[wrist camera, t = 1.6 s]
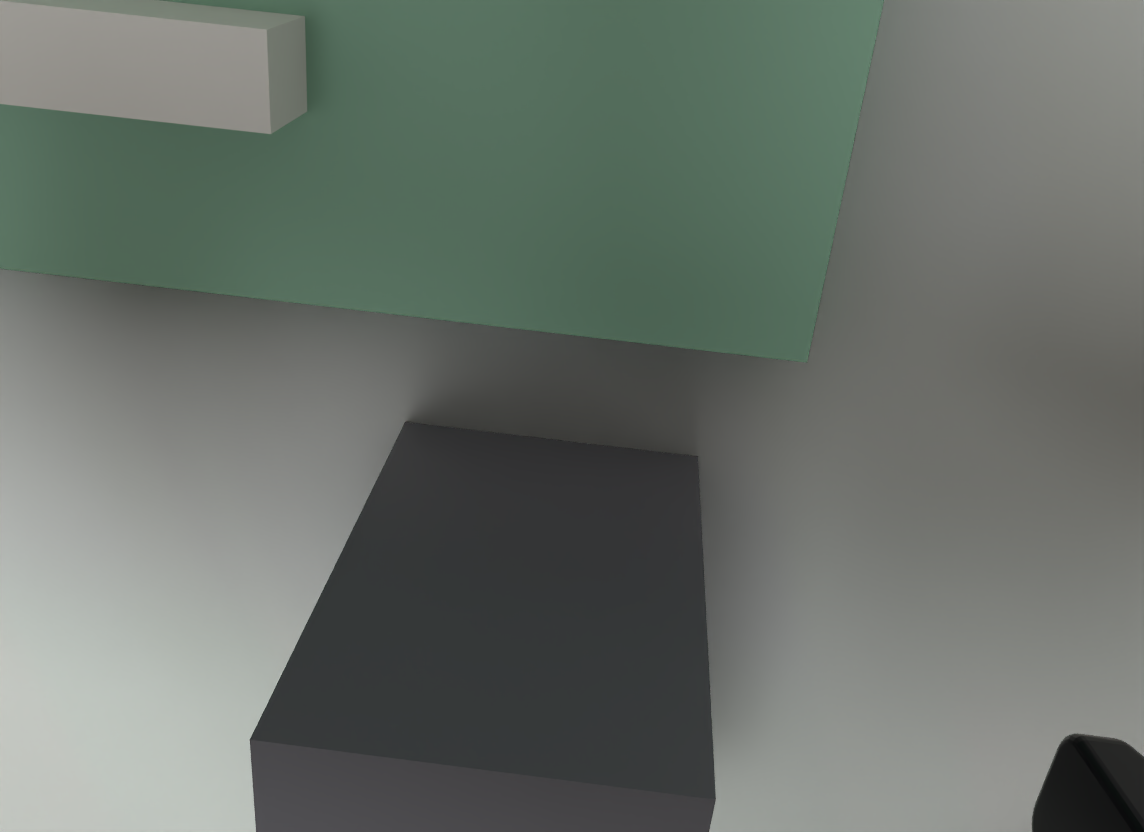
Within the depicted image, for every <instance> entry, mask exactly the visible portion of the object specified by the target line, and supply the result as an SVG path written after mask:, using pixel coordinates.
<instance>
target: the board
mask: <svg viewBox="0 0 1144 832" xmlns="http://www.w3.org/2000/svg"><path fill="white" fill-rule="evenodd" d="M883 3H884V0H0V269H7V270H16V271H25V272H33V273H42V274H50V275H59V276H67V277H76V278H85V279H93V280H102V281H110V282H119V283H128V284H136V285H145V286H153V287H162V288H170V289H179V290H188V291H196V292H205V293H213V294H222V295H231V296H239V297H248V298H256V299H265V300H273V301H282V302H291V303H299V304H308V305H316V306H325V307H334V308H342V309H351V310H359V311H368V312H376V313H385V314H394V315H402V316H411V317H419V318H428V319H437V320H445V321H454V322H462V323H471V324H479V325H488V326H497V327H505V328H514V329H522V330H531V331H540V332H548V333H557V334H565V335H574V336H582V337H591V338H600V339H608V340H617V341H625V342H634V343H643V344H651V345H660V346H668V347H677V348H685V349H694V350H703V351H711V352H720V353H728V354H737V355H746V356H754V357H763V358H771V359H780V360H788V361H797V362H806V363H807V360H808V356H809V351H810V346H811V342H812V337H813V332H814V328H815V323H816V318H817V313H818V309H819V304H820V299H821V295H822V290H823V285H824V281H825V276H826V271H827V266H828V262H829V257H830V252H831V248H832V243H833V238H834V234H835V229H836V224H837V219H838V215H839V210H840V205H841V201H842V196H843V191H844V186H845V182H846V177H847V172H848V168H849V163H850V158H851V154H852V149H853V144H854V139H855V135H856V130H857V125H858V121H859V116H860V111H861V107H862V102H863V97H864V92H865V88H866V83H867V78H868V74H869V69H870V64H871V60H872V55H873V50H874V45H875V41H876V36H877V31H878V27H879V22H880V17H881V13H882V8H883Z"/></svg>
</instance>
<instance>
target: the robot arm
mask: <svg viewBox="0 0 1144 832" xmlns="http://www.w3.org/2000/svg"><path fill="white" fill-rule="evenodd" d="M1032 832H1144V757H1143V756H1142V755H1141V754H1140V753H1139V752H1137V751H1136V750H1135V749H1134V748H1133V747H1131V746H1130V745H1129V744H1127V743H1126V742H1124V741H1122V740H1119V739H1115V738H1108V737H1101V736H1093V735H1085V734H1072V735H1069V736H1067V737H1065V738H1064V739H1063V741H1062V742H1061V743H1060V745H1059V747H1058V749H1057V751H1056V754H1055V756H1054V759H1053V761H1052V764H1051V766H1050V769H1049V771H1048V774H1047V776H1046V779H1045V781H1044V783H1043V786H1042V788H1041V791H1040V793H1039V796H1038V798H1037V801H1036V803H1035V807H1034V811H1033V816H1032Z"/></svg>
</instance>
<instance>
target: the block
mask: <svg viewBox="0 0 1144 832" xmlns="http://www.w3.org/2000/svg"><path fill="white" fill-rule="evenodd" d="M250 748H251V763H252V777H253V792H254V806H255V821H256V832H709V829H710V824H711V819H712V815H713V810H714V805H715V801H716V796H715V777H714V758H713V738H712V719H711V700H710V681H709V661H708V642H707V623H706V604H705V584H704V565H703V546H702V527H701V508H700V488H699V469H698V457H697V456H689V455H681V454H672V453H664V452H655V451H647V450H638V449H630V448H621V447H613V446H604V445H596V444H587V443H579V442H570V441H562V440H553V439H545V438H536V437H528V436H519V435H511V434H502V433H494V432H485V431H477V430H469V429H460V428H452V427H443V426H435V425H426V424H418V423H409V422H405V424H404V426H403V428H402V430H401V432H400V434H399V436H398V438H397V440H396V442H395V444H394V446H393V448H392V450H391V452H390V454H389V456H388V459H387V461H386V463H385V465H384V467H383V469H382V471H381V473H380V475H379V477H378V479H377V481H376V483H375V485H374V487H373V489H372V491H371V493H370V495H369V497H368V499H367V501H366V504H365V506H364V508H363V510H362V512H361V514H360V516H359V518H358V520H357V522H356V524H355V526H354V528H353V530H352V532H351V534H350V536H349V538H348V540H347V542H346V544H345V546H344V548H343V551H342V553H341V555H340V557H339V559H338V561H337V563H336V565H335V567H334V569H333V571H332V573H331V575H330V577H329V579H328V581H327V583H326V585H325V587H324V589H323V591H322V593H321V595H320V598H319V600H318V602H317V604H316V606H315V608H314V610H313V612H312V614H311V616H310V618H309V620H308V622H307V624H306V626H305V628H304V630H303V632H302V634H301V636H300V638H299V640H298V642H297V645H296V647H295V649H294V651H293V653H292V655H291V657H290V659H289V661H288V663H287V665H286V667H285V669H284V671H283V673H282V675H281V677H280V679H279V681H278V683H277V685H276V687H275V689H274V692H273V694H272V696H271V698H270V700H269V702H268V704H267V706H266V708H265V710H264V712H263V714H262V716H261V718H260V720H259V722H258V724H257V726H256V728H255V730H254V732H253V734H252V736H251V739H250Z"/></svg>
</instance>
